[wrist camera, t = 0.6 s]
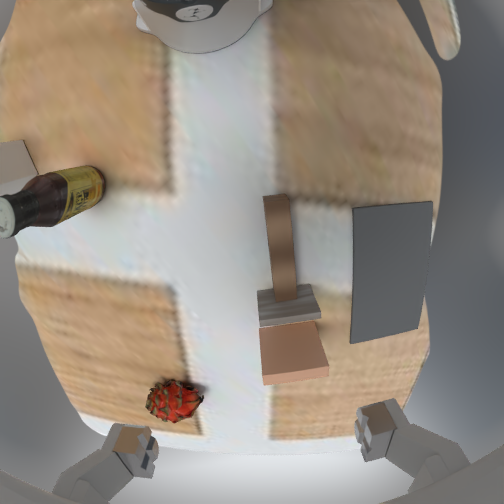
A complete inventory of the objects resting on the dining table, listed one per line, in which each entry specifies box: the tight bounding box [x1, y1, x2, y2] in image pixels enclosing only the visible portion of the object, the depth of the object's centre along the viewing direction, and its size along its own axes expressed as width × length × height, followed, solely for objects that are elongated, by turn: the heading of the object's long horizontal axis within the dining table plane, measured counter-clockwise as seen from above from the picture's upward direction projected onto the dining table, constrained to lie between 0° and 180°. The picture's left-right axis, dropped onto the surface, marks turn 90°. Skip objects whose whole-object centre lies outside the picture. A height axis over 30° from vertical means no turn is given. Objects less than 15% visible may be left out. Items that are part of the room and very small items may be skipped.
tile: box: [259, 321, 329, 385], centre depth 42 cm, size 2×9×11 cm, turn 97°
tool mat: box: [350, 201, 433, 344], centre depth 44 cm, size 24×14×1 cm, turn 7°
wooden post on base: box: [257, 194, 321, 327], centre depth 38 cm, size 15×8×8 cm, turn 7°
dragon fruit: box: [145, 381, 204, 423], centre depth 49 cm, size 8×8×12 cm
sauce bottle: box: [0, 166, 105, 238], centre depth 29 cm, size 7×6×20 cm
